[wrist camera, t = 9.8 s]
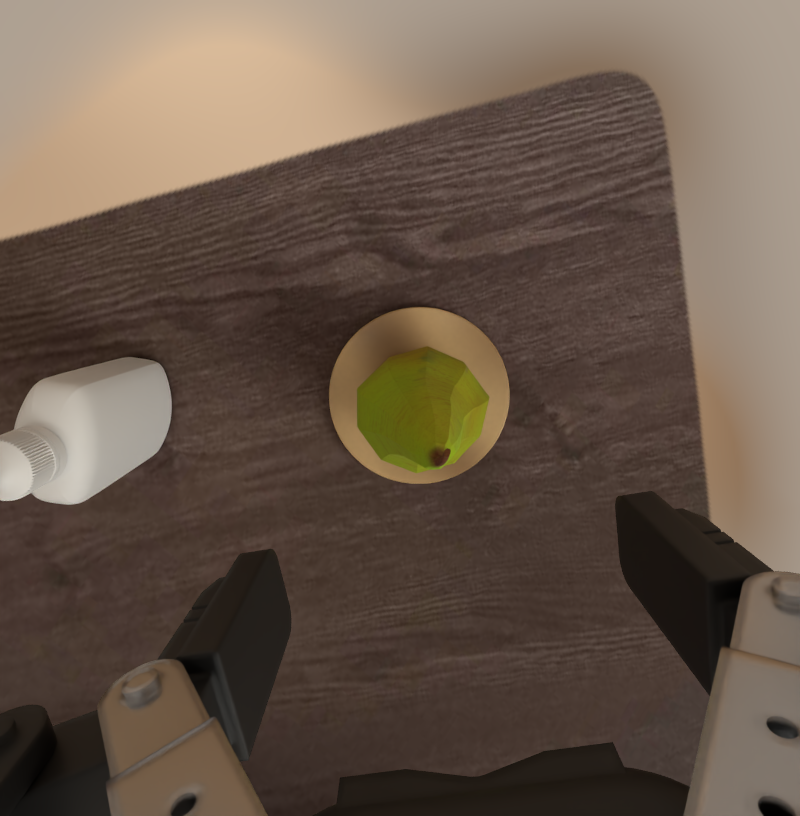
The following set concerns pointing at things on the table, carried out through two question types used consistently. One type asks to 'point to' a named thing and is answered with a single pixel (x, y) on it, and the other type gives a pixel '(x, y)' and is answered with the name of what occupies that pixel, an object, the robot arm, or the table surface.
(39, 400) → the eye dropper bottle
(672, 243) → the table surface
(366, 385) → the fruit
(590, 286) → the table surface
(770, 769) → the robot arm
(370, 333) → the coaster
